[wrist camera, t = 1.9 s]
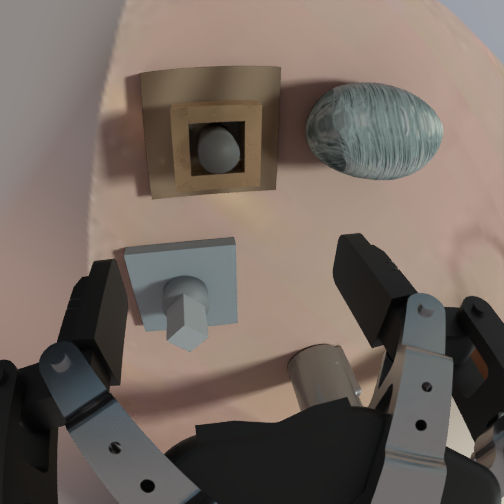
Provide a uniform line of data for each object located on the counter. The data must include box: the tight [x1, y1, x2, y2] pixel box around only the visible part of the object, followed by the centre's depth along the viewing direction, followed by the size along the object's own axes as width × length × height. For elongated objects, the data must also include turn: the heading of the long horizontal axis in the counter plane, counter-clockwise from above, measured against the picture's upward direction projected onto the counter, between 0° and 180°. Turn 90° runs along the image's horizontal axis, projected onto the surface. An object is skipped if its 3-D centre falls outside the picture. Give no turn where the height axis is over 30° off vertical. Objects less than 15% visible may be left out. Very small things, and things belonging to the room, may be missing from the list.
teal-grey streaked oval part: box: [306, 83, 443, 180], centre depth 26 cm, size 14×10×10 cm
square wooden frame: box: [170, 100, 262, 192], centre depth 23 cm, size 6×6×3 cm
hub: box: [124, 237, 238, 352], centre depth 34 cm, size 12×12×8 cm
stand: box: [140, 66, 281, 199], centre depth 24 cm, size 12×12×8 cm
